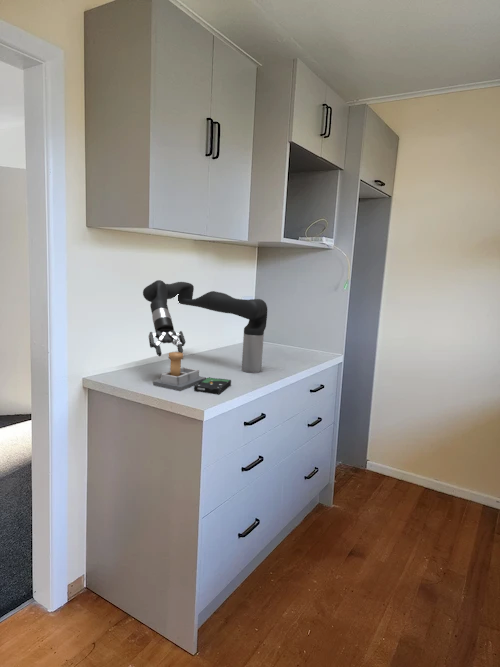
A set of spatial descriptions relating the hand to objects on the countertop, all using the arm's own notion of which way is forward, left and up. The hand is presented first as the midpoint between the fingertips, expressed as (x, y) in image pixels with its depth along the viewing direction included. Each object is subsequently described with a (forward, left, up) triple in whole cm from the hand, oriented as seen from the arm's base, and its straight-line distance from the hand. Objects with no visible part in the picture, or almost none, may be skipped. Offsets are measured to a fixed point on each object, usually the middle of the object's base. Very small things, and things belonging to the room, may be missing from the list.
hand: (170, 354), depth 176 cm
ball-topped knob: (0, +3, -10) cm, 10 cm away
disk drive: (-4, +18, -12) cm, 22 cm away
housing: (-2, +4, -12) cm, 12 cm away
